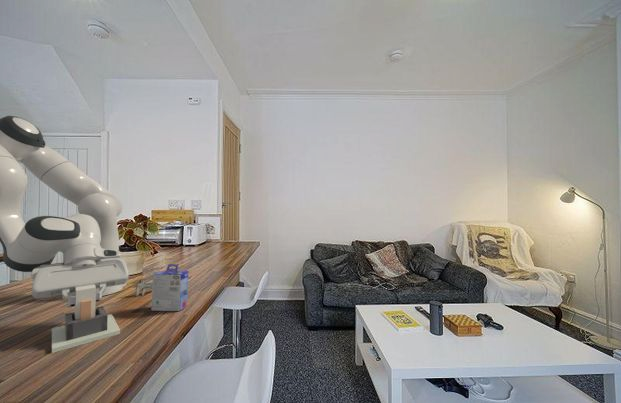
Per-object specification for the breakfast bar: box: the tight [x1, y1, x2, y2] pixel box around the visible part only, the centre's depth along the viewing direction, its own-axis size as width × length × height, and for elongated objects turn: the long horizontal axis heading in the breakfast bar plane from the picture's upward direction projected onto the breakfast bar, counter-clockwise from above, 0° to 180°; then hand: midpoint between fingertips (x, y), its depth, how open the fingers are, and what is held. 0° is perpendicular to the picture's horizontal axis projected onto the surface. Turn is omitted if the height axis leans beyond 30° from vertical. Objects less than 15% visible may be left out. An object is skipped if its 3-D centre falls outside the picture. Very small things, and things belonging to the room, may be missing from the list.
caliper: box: [135, 279, 153, 297], centre depth 105 cm, size 20×1×6 cm, turn 146°
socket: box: [51, 305, 121, 354], centre depth 69 cm, size 14×13×5 cm
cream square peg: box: [74, 284, 97, 321], centre depth 69 cm, size 5×4×10 cm
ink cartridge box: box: [150, 263, 189, 312], centre depth 86 cm, size 10×6×14 cm, turn 89°
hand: (85, 303), depth 69 cm, fingers closed on cream square peg, 4 cm apart
